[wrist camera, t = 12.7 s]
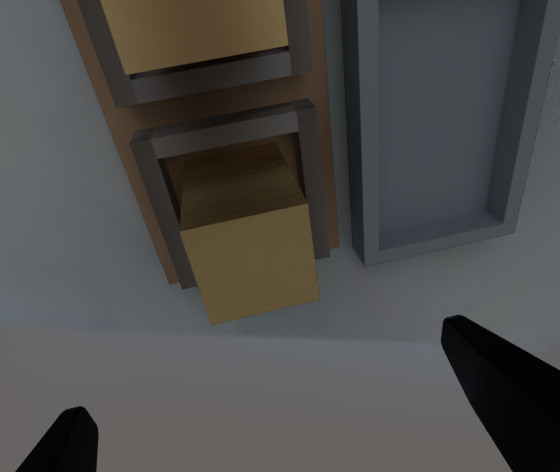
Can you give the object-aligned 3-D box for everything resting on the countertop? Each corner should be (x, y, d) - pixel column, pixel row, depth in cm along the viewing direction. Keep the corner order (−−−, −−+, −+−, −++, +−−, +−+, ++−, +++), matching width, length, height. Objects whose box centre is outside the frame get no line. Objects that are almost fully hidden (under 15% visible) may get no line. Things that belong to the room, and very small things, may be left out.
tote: (542, -71, 16) (583, -78, 14) (491, 215, 23) (514, 233, 22) (339, -37, 15) (356, -40, 14) (352, 246, 23) (364, 266, 21)
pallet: (294, -206, 13) (388, -399, 6) (331, 232, 22) (383, 328, 16) (10, -167, 12) (-194, -338, 6) (171, 266, 21) (159, 381, 15)
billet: (288, 219, 19) (319, 299, 14) (208, 237, 19) (211, 324, 14) (275, 141, 17) (307, 203, 12) (184, 160, 17) (179, 231, 12)
